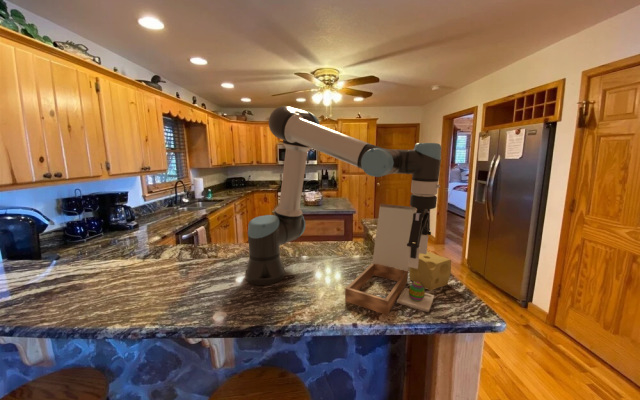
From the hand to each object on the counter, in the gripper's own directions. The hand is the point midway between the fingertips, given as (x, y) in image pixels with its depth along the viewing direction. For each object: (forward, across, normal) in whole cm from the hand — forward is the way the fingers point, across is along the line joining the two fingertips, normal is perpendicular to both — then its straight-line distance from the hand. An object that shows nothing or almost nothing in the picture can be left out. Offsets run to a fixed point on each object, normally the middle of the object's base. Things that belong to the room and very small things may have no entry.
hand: (417, 259), depth 83 cm
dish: (+14, 0, -1) cm, 14 cm away
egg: (+14, 0, -1) cm, 14 cm away
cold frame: (+14, +2, +12) cm, 19 cm away
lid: (-2, +14, +12) cm, 19 cm away
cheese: (+14, +16, -2) cm, 22 cm away
